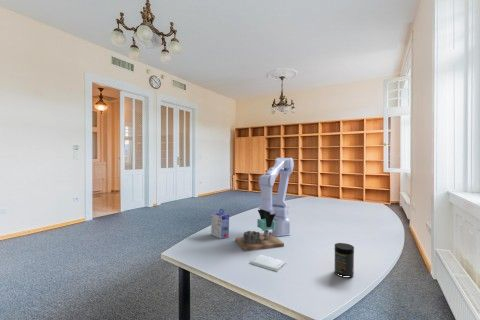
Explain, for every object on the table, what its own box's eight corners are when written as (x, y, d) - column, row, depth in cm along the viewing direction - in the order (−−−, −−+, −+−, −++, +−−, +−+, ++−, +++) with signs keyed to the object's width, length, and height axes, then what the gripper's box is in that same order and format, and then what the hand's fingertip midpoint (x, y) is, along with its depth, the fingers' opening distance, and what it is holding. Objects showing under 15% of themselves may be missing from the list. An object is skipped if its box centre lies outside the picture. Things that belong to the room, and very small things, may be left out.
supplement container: (354, 279, 86) (354, 250, 86) (333, 276, 89) (334, 247, 89) (353, 271, 92) (353, 244, 92) (334, 268, 95) (334, 241, 95)
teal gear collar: (269, 225, 128) (269, 218, 128) (275, 229, 121) (275, 221, 121) (256, 226, 125) (256, 219, 125) (262, 230, 119) (262, 222, 119)
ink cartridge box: (229, 237, 131) (229, 210, 131) (221, 239, 128) (221, 212, 127) (218, 232, 139) (218, 207, 139) (210, 234, 135) (210, 208, 135)
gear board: (270, 236, 132) (270, 225, 132) (284, 246, 118) (284, 234, 118) (235, 240, 126) (235, 229, 126) (245, 251, 112) (245, 238, 112)
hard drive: (250, 260, 99) (277, 268, 92) (260, 254, 106) (286, 261, 99) (250, 264, 99) (277, 273, 92) (260, 257, 106) (286, 265, 99)
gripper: (253, 196, 129) (253, 222, 129) (265, 201, 115) (264, 230, 115) (266, 196, 131) (265, 221, 131) (278, 200, 117) (278, 228, 117)
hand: (266, 225), depth 123 cm, fingers closed on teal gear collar, 6 cm apart
